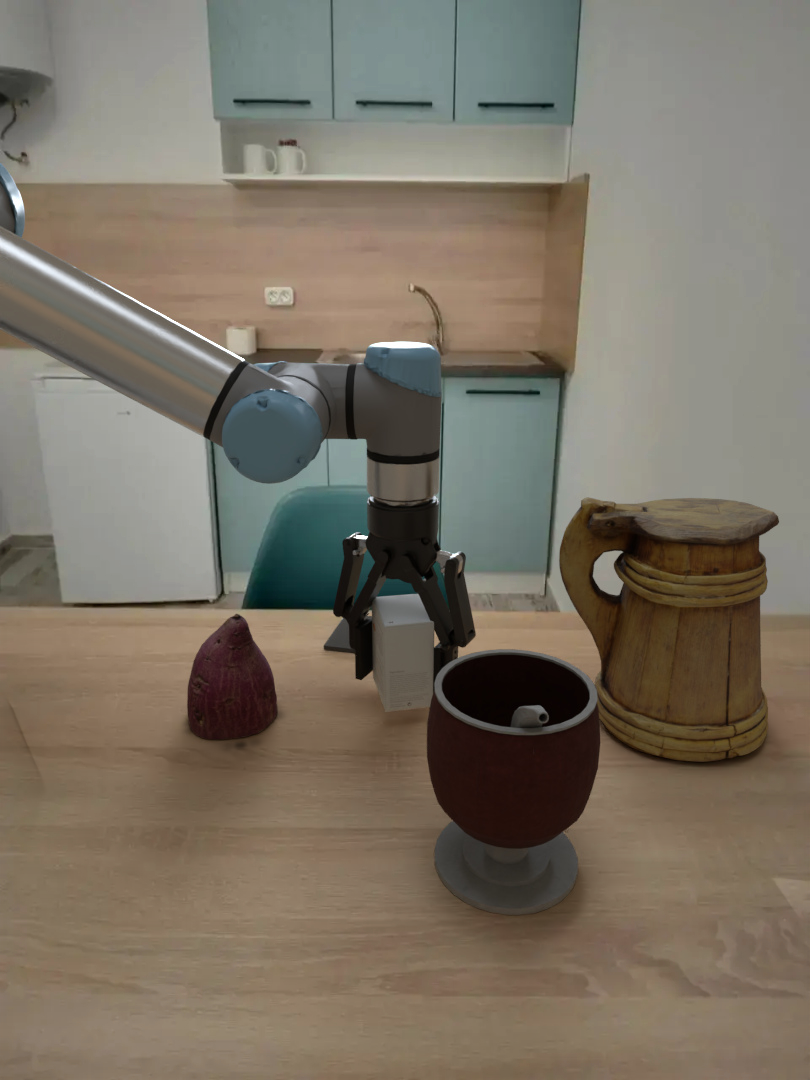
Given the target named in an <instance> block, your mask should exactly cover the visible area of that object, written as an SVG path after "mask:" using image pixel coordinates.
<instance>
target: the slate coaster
mask: <svg viewBox="0 0 810 1080" xmlns="http://www.w3.org/2000/svg"><path fill="white" fill-rule="evenodd" d="M366 619H371V620H372V615H367V616H366V617H365V618H364V620H366ZM323 650H324V651H325V650H326V651H333V652H342V653H351V654H352V653H353V654H355V649H351V647H350V645H349V624H348V623H347V620H346V619H344V618H343V617H341V619H340V621H339V623H338V624H337V626H336V627H335V628H334V630H333V631H332V633H331V634H330V636H329V637H328V638H327V640H326V641H325V643H324V644H323Z"/></svg>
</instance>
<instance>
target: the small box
mask: <svg viewBox="0 0 810 1080" xmlns="http://www.w3.org/2000/svg"><path fill="white" fill-rule="evenodd" d="M371 616H372V646H373V671H372V678H373V681H374V685H375V686H376V690H377V693H378V695H379V699H380V701H381V703H382V706H383V709H384V712H385V713H390V712H400V711H409V710H417V709H418V710H419V709H424V708H425V709H426V708H430V704H431V699H432V696H433V672H434V647H435V630H434V622H433V621H430V619H429V617H428V614H427V612H426V610H425V608H424V605H423V603H422V601H421V599H420V596H419V594H418V593H409V594H395V595H383V596H382V595H381V596H377V597H376V598H375V599H374V600H373V602H372V606H371Z"/></svg>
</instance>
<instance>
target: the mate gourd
mask: <svg viewBox="0 0 810 1080" xmlns="http://www.w3.org/2000/svg"><path fill="white" fill-rule="evenodd" d="M434 686H435V689H434V693H433V696H432V699H431V704H430V707H429V710H428V715H427V719H426V720H427V721H426V759H427V765H428V770H429V779H430V782H431V785H432V790H433V792H434V795H435V796H434V797H435V798H436V801H437V803H438V805H439V806H440V808H441V809H442V811H443V812H444V813H445V814H446V815H447V816H448V817H449V818H450V819H451V820H452V821H450V822H449V823H448V824H447V825H446V826H445V827H444V828H442V830H441V832H440V833H439V835H438V837H437V839H436V842H435V847H434V866H435V869H436V872H437V875H438V877H439V879H440V880H441V882H442V884H443V885H444V886H445V888H447V890H448V891H449V892H451V894H452V895H453V896H455V897H456V898H457V899H460V900H461V901H462V902H464V903H466V904H467V905H470V906H471V907H474V908H476V909H478V910H482V911H485V912H488V913H492V914H499V915H505V916H522V915H523V916H524V915H529V914H537V913H539V912H542V911H545V910H549V909H550V908H552V907H554V906H555V905H556V906H557V905H558V904H559V903H561V902H562V901H563V900H564V899H565V898H567V896H569V894H570V893H571V891H572V890H573V889H574V887H575V884H576V882H577V878H578V872H579V859H578V855H577V850H576V848H575V847H574V845H573V843H572V841H571V840H570V839H569V837H568V836H567V835H566V834H565V831H566V830H568V829H569V828H570V827H572V825H574V824H575V823H577V821H578V820H579V818H580V817H581V816H582V815H583V813H584V811H585V809H586V807H587V804H588V802H589V799H590V797H591V793H592V791H593V787H594V783H595V781H596V776H597V773H598V770H599V759H600V753H601V752H600V750H601V725H600V723H601V722H600V719H599V710H598V704H597V690H596V688H595V682H593V681H592V679H591V678H590V677H589V676H588V674H586V673H585V672H584V671H583V670H582V669H580V668H578V667H577V666H575V665H574V664H572V663H570V662H568V661H565V660H563V659H561V658H558V657H556V656H553V655H551V654H546V653H544V652H539V651H538V652H537V651H533V650H526V649H525V650H524V649H515V648H512V649H511V648H498V649H485V650H481V651H477V652H476V651H475V652H471V653H468V654H465V655H462V656H458V658H457V659H455V660H453V661H451V662H450V663H448V664H447V665H446V666H444V667H443V668H442V669H441V671H440V672H439V673H438V674H437V677H436V680H435V683H434Z"/></svg>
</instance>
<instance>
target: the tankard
mask: <svg viewBox="0 0 810 1080" xmlns="http://www.w3.org/2000/svg"><path fill="white" fill-rule="evenodd" d="M779 524H780V519H779V516H778V514H776V513H775V511H772V510H769V509H766V508H763V507H760V506H758V505H754V504H751V503H748V502H744V501H738V500H730V499H723V498H703V497H702V498H700V497H684V498H683V497H682V498H662V499H654V500H649V501H644V502H638V503H616V502H615V501H610V500H601V499H597V498H593V497H584V498H582V499H581V501H580V507H579V508H578V510H577V511H576V512H575V514H574V515H573V516H572V518H571V519H570V521H569V522H568V524H567V526H566V527H565V530H564V532H563V536H562V539H561V542H560V545H559V554H558V555H559V556H558V559H559V560H558V565H559V573H560V577H561V581H562V584H563V586H564V589H565V591H566V593H567V595H568V598H569V599H570V601H571V603H572V605H573V607H574V609H575V610H576V612H577V614H578V616H579V617H580V619H581V620H582V621H583V623H584V625H585V626H586V628H587V629H588V631H589V632H590V635H591V637H592V639H593V642H594V644H595V647H596V648H597V651H598V655H599V659H600V660H599V661H600V671H599V672H598V673H597V675H596V676H595V679H594V685H595V688H596V690H597V704H598V710H599V721H600V722H602V724H603V726H604V728H606V730H607V731H608V732H609V733H610V734H612V736H613V737H615V738H616V739H618V740H619V741H620V742H622V743H623V744H625V745H626V746H628V747H630V748H632V749H634V750H636V751H639V752H641V753H646V754H648V755H653V756H657V757H660V758H665V759H670V760H675V761H681V762H682V761H685V762H696V763H697V762H698V763H699V762H700V763H701V762H714V761H716V762H717V761H721V760H725V759H733V758H735V757H737V756H738V757H739V756H745V755H748V754H750V753H752V752H754V751H755V750H757V749H758V748H759V747H761V746H762V745H763V743H764V741H765V739H766V737H767V734H768V729H769V706H768V698H767V695H766V693H765V691H764V690H763V687H762V654H761V653H762V652H761V651H762V650H761V648H762V646H761V645H762V644H761V643H762V642H761V596H762V595H764V594H765V592H766V591H767V588H768V583H769V580H768V576H767V571H768V570H767V569H768V568H767V559H766V556H765V555H764V554H763V552H761V551H760V536H763V535H765V534H766V533H768V532H770V531H771V530H772V529H774V528H775V527H776V526H778V525H779ZM610 552H621V553H620V554H619V555H618V556H617V557H616V559H615V560H614V562H613V570H614V572H615V573H616V575H617V577H618V578H619V579H620V581H621V582H622V587H621V589H620V592H619V594H617V595H616V594H611V593H608V592H606V591H605V590H603V589H601V588H600V587H599V585H598V583H597V582H596V580H595V577H594V571H595V563H596V562H597V561H598V560H599V559H600V557H601V556H603V554H604V553H610Z"/></svg>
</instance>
